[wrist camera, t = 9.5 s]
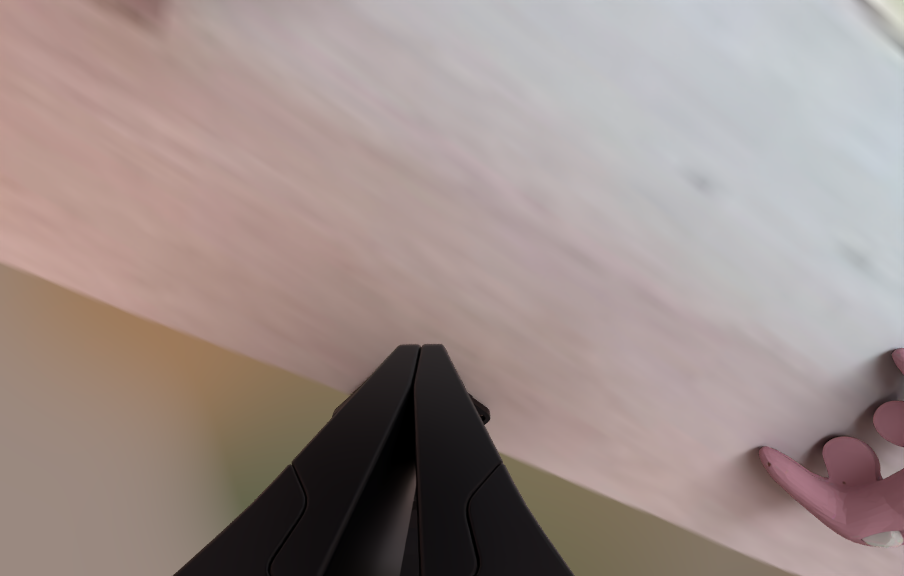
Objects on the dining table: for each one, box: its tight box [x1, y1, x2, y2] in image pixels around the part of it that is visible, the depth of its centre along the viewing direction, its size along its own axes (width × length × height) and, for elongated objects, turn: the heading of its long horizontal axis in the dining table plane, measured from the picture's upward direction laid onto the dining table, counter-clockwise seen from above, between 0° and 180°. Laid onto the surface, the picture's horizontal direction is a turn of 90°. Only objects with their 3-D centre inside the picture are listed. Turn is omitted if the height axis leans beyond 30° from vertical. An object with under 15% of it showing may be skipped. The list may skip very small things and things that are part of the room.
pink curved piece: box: [759, 348, 904, 548], centre depth 25 cm, size 10×5×7 cm, turn 149°
